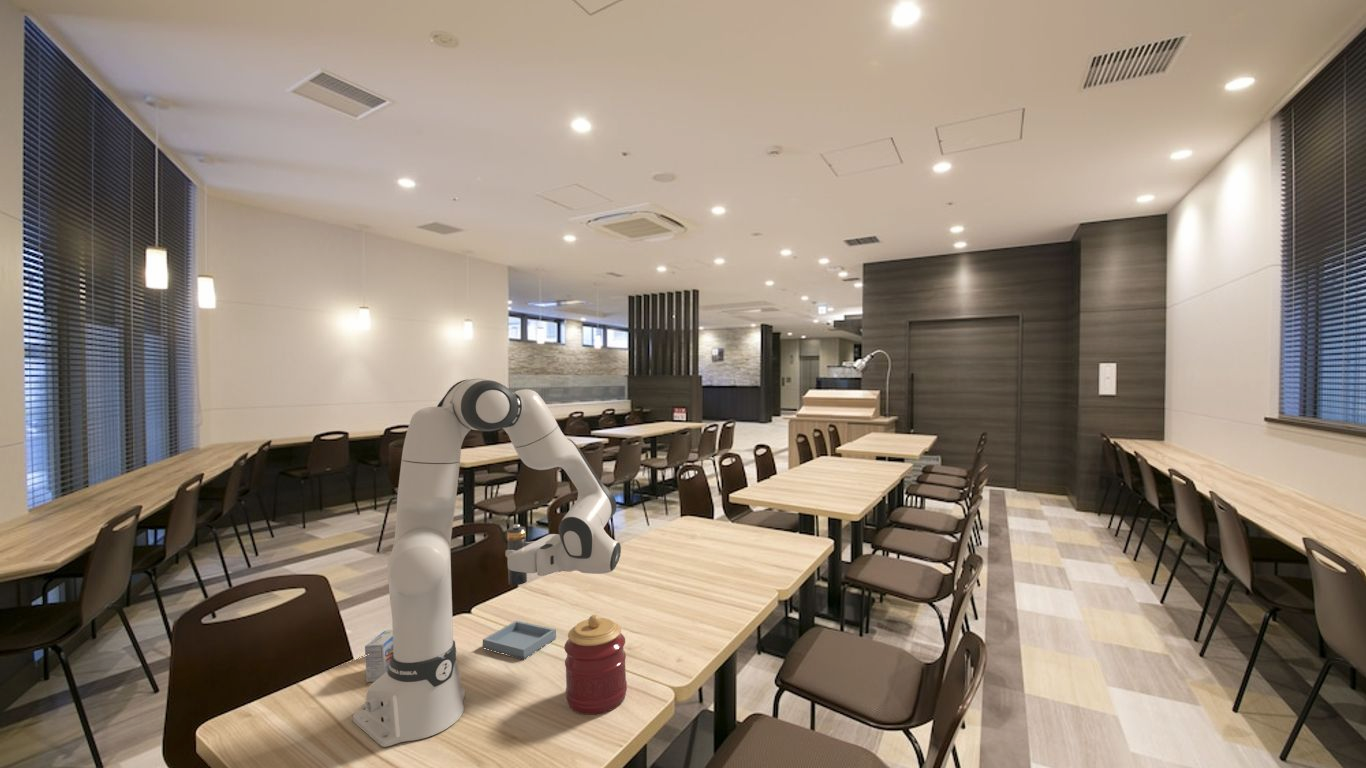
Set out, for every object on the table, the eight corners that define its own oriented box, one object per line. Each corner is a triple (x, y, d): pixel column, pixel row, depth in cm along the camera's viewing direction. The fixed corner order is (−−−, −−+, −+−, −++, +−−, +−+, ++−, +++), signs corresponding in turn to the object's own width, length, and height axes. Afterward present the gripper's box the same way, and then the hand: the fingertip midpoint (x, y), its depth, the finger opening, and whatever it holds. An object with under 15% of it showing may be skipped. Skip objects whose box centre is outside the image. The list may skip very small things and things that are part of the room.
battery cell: (504, 582, 139) (503, 525, 139) (519, 577, 143) (518, 521, 143) (515, 586, 136) (514, 528, 137) (530, 580, 140) (529, 524, 140)
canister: (591, 675, 123) (589, 599, 123) (638, 689, 117) (636, 609, 117) (553, 706, 111) (550, 622, 111) (602, 723, 105) (599, 634, 105)
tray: (483, 649, 137) (482, 639, 137) (516, 629, 148) (516, 620, 148) (524, 660, 131) (523, 649, 131) (556, 638, 142) (555, 629, 142)
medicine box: (384, 682, 123) (383, 645, 123) (365, 682, 123) (364, 645, 123) (402, 664, 131) (401, 629, 131) (384, 665, 131) (383, 629, 131)
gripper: (579, 529, 146) (535, 527, 150) (538, 552, 126) (489, 548, 130) (580, 552, 146) (536, 549, 150) (538, 578, 126) (489, 574, 130)
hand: (513, 549), depth 140 cm, fingers closed on battery cell, 5 cm apart
